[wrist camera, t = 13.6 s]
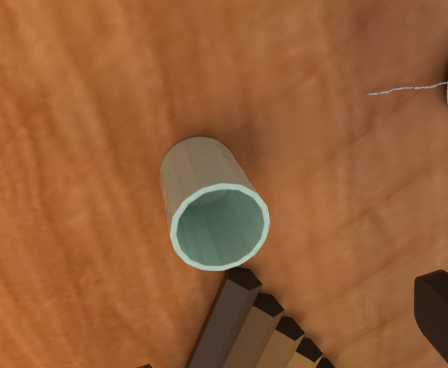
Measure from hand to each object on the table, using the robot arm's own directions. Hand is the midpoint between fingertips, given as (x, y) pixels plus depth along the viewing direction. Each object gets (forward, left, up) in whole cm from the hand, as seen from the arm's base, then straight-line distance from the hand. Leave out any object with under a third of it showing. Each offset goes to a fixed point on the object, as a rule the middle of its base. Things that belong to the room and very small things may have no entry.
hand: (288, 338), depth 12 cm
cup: (0, +4, -22) cm, 23 cm away
